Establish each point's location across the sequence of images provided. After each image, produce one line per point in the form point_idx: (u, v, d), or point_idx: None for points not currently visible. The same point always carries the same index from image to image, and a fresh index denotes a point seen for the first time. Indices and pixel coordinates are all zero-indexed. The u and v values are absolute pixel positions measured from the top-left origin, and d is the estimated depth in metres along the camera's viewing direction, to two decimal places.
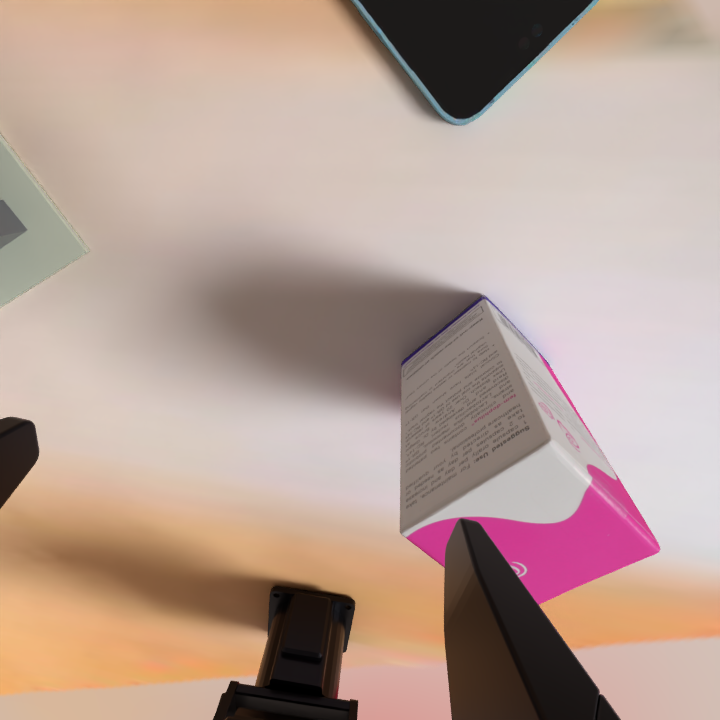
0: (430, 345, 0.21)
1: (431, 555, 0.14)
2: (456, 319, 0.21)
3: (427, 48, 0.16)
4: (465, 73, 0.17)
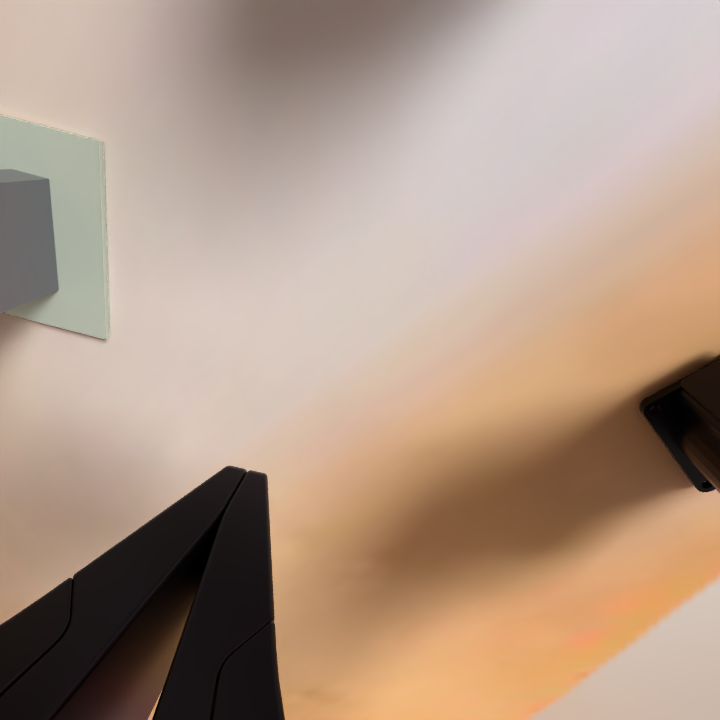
0: None
1: None
2: None
3: None
4: None
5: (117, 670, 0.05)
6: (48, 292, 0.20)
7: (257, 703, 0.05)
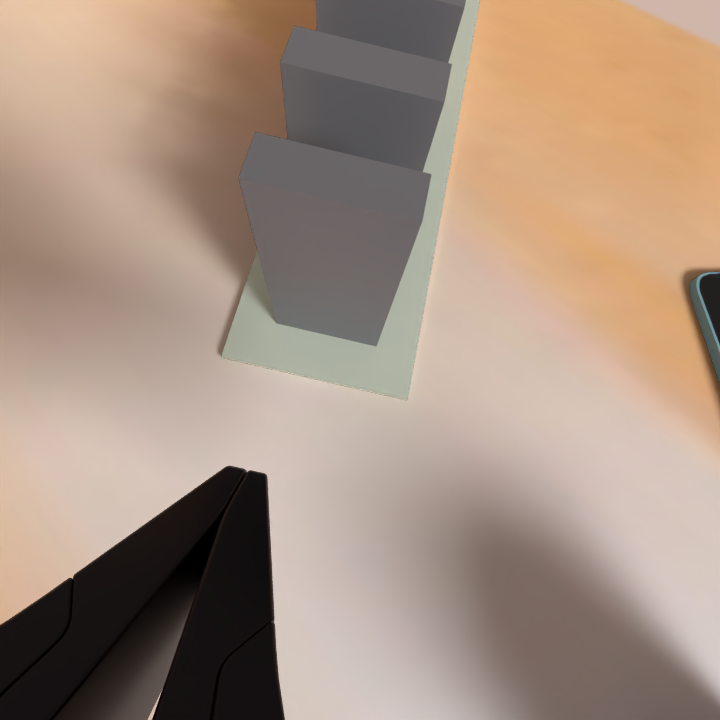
0: None
1: None
2: None
3: None
4: None
5: (117, 670, 0.05)
6: (276, 318, 0.20)
7: (257, 703, 0.05)
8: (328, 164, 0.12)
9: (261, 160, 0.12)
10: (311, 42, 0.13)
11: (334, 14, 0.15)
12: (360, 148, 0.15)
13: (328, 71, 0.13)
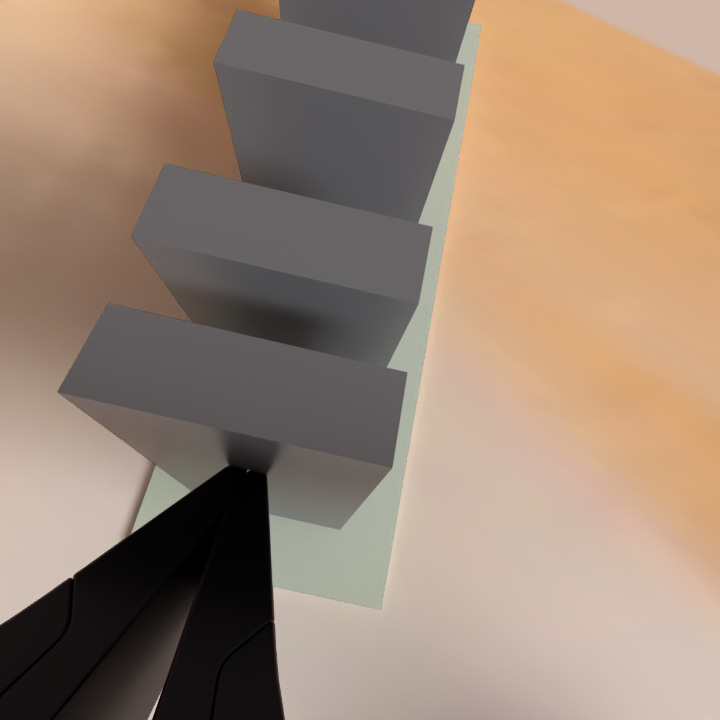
0: None
1: None
2: None
3: None
4: None
5: (117, 670, 0.05)
6: None
7: (257, 703, 0.05)
8: (229, 360, 0.07)
9: (108, 355, 0.07)
10: (191, 194, 0.08)
11: (253, 119, 0.10)
12: (292, 328, 0.10)
13: (217, 250, 0.07)
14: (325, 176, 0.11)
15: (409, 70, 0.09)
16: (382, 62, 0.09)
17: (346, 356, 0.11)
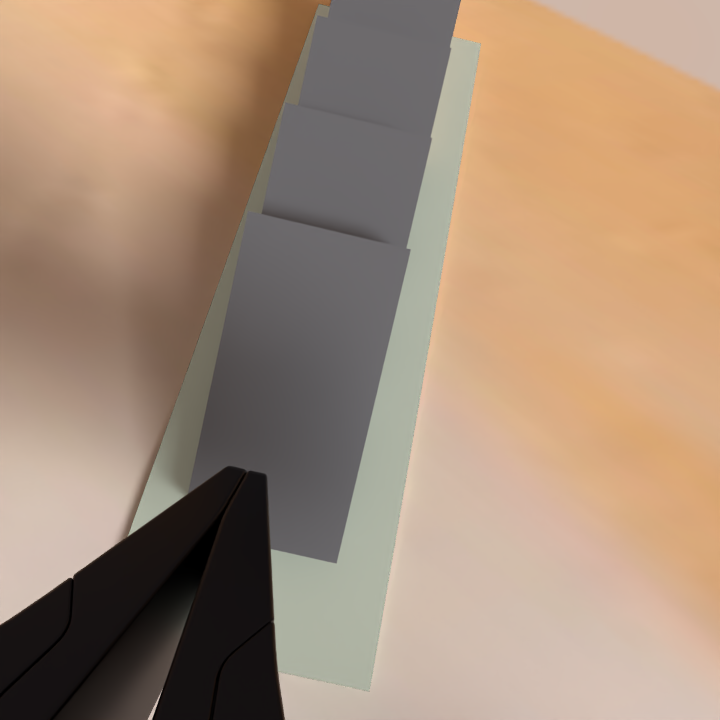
0: None
1: None
2: None
3: None
4: None
5: (117, 670, 0.05)
6: None
7: (257, 703, 0.05)
8: None
9: None
10: None
11: (327, 52, 0.16)
12: (346, 196, 0.14)
13: None
14: (364, 99, 0.16)
15: None
16: None
17: (376, 237, 0.14)
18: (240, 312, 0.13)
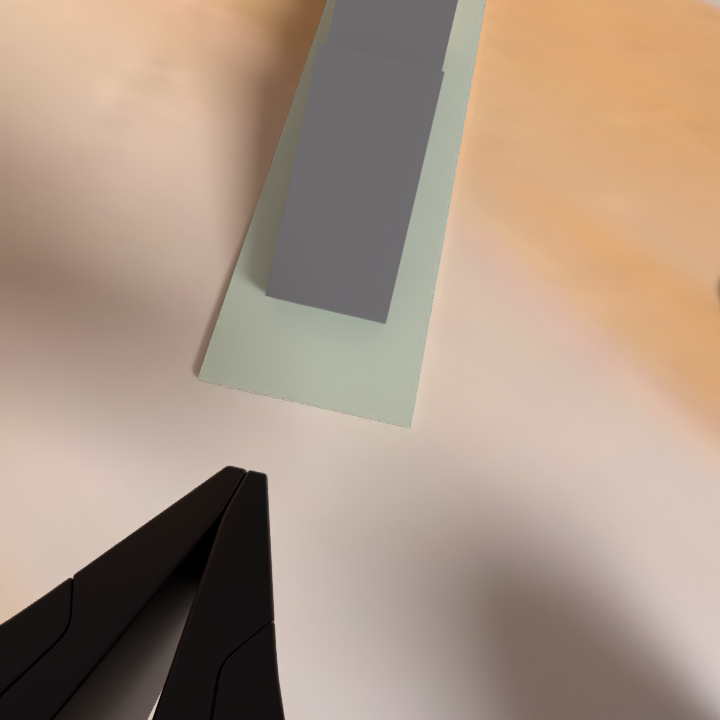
0: None
1: None
2: None
3: None
4: None
5: (117, 670, 0.05)
6: (270, 280, 0.17)
7: (257, 703, 0.05)
8: None
9: None
10: None
11: None
12: (391, 43, 0.18)
13: None
14: None
15: None
16: None
17: None
18: (312, 122, 0.17)
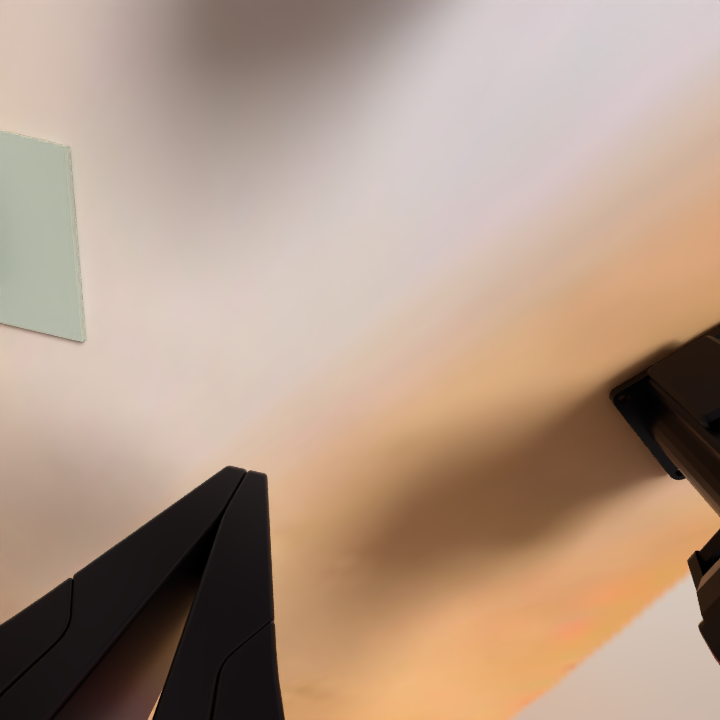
0: None
1: None
2: None
3: None
4: None
5: (117, 670, 0.05)
6: None
7: (257, 703, 0.05)
8: None
9: None
10: None
11: None
12: None
13: None
14: None
15: None
16: None
17: None
18: None
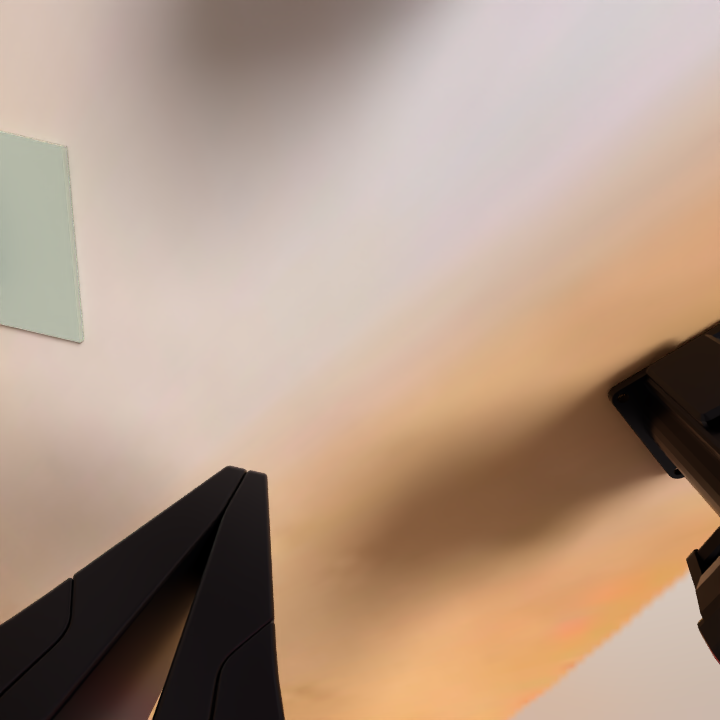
0: None
1: None
2: None
3: None
4: None
5: (117, 670, 0.05)
6: None
7: (257, 703, 0.05)
8: None
9: None
10: None
11: None
12: None
13: None
14: None
15: None
16: None
17: None
18: None
